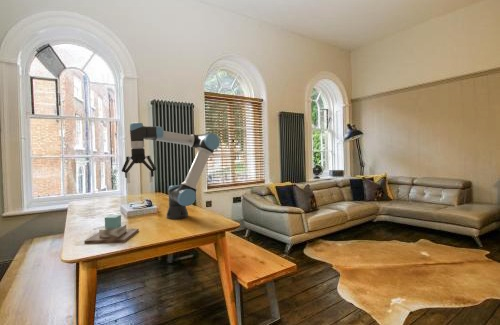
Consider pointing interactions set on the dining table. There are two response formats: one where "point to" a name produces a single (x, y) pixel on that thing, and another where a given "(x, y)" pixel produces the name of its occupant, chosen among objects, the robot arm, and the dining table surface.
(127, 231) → the base
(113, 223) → the cube
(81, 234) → the dining table surface
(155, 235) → the dining table surface
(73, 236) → the dining table surface
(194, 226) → the dining table surface
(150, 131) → the robot arm
